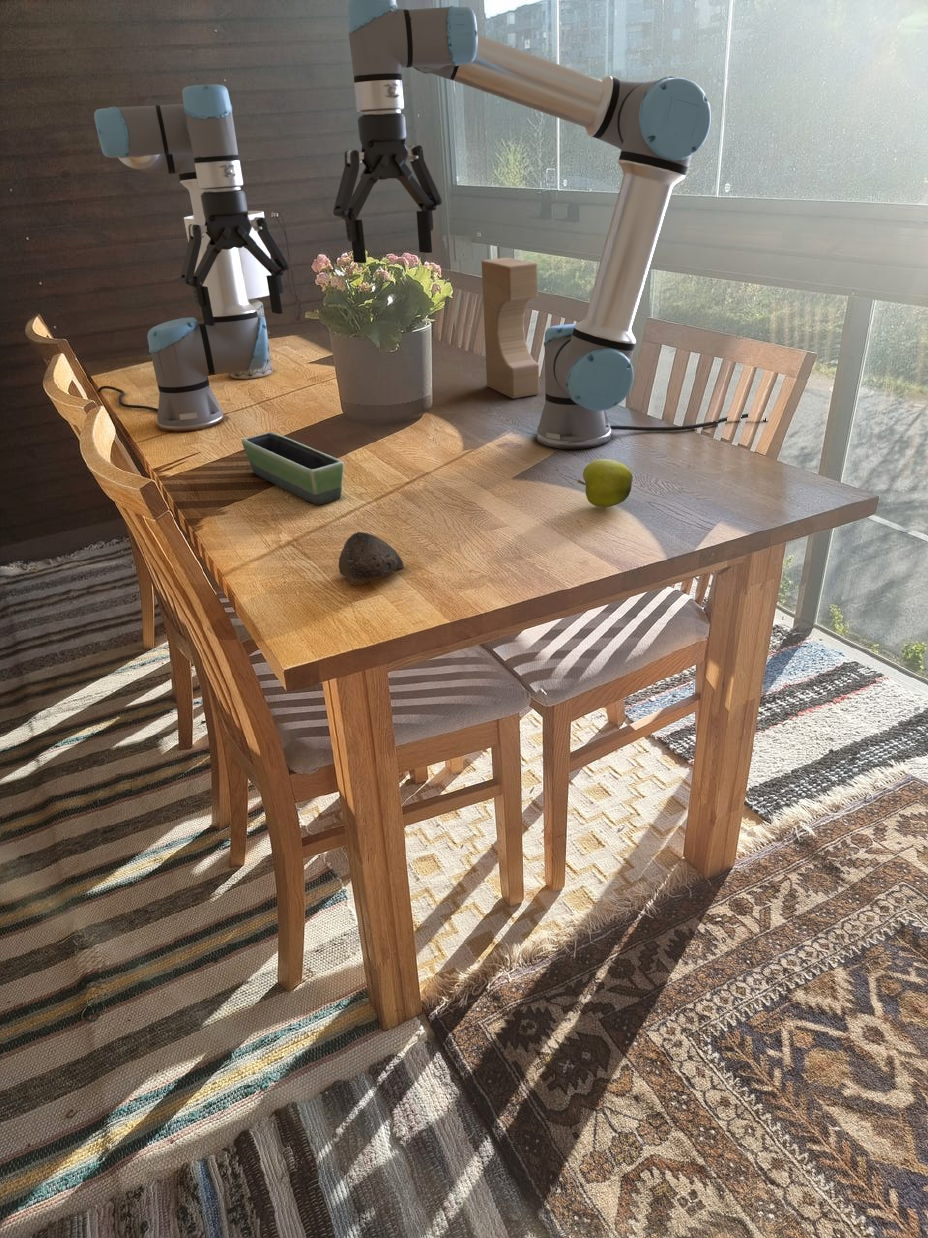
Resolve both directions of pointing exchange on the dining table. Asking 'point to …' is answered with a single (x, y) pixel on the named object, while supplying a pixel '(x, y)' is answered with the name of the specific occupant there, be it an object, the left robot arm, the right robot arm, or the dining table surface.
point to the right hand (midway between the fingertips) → (393, 257)
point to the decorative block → (509, 325)
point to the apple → (606, 482)
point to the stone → (367, 559)
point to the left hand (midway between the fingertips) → (244, 318)
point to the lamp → (249, 288)
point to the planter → (295, 467)
